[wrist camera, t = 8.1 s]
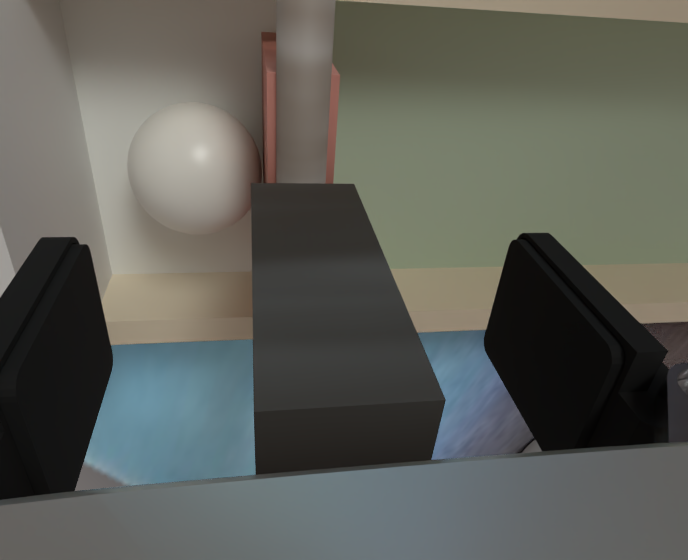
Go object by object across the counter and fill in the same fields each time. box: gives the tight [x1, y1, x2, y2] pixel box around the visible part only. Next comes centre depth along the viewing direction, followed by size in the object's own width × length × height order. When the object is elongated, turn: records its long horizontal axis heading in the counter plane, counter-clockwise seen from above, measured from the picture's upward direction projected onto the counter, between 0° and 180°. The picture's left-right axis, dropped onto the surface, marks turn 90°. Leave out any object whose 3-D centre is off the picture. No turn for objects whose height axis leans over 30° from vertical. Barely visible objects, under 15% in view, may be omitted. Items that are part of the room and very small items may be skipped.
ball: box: [127, 102, 262, 235], centre depth 16 cm, size 4×4×4 cm
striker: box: [251, 0, 445, 475], centre depth 13 cm, size 16×2×13 cm, turn 176°
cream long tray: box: [0, 0, 688, 345], centre depth 18 cm, size 12×32×8 cm, turn 86°
